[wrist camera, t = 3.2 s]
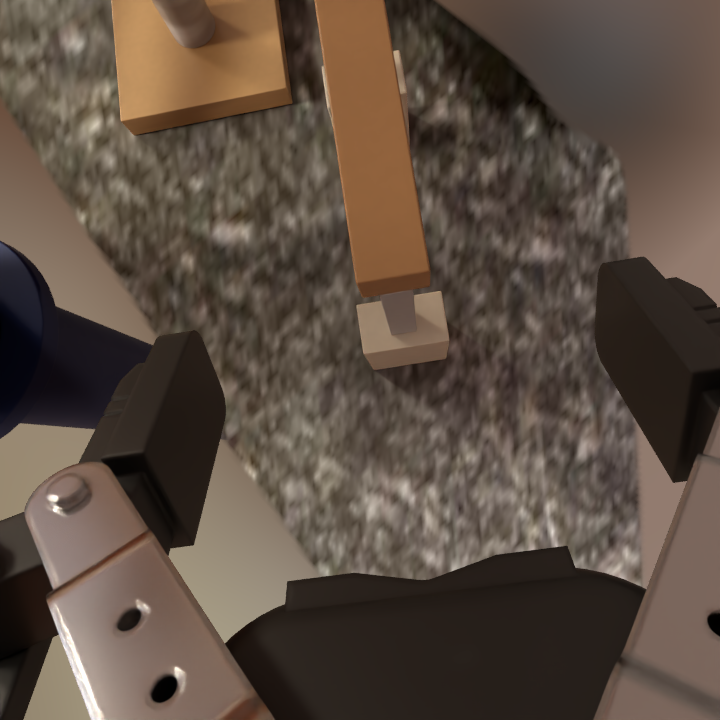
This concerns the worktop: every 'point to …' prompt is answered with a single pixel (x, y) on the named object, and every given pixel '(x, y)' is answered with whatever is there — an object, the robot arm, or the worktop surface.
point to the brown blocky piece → (379, 185)
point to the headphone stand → (197, 60)
